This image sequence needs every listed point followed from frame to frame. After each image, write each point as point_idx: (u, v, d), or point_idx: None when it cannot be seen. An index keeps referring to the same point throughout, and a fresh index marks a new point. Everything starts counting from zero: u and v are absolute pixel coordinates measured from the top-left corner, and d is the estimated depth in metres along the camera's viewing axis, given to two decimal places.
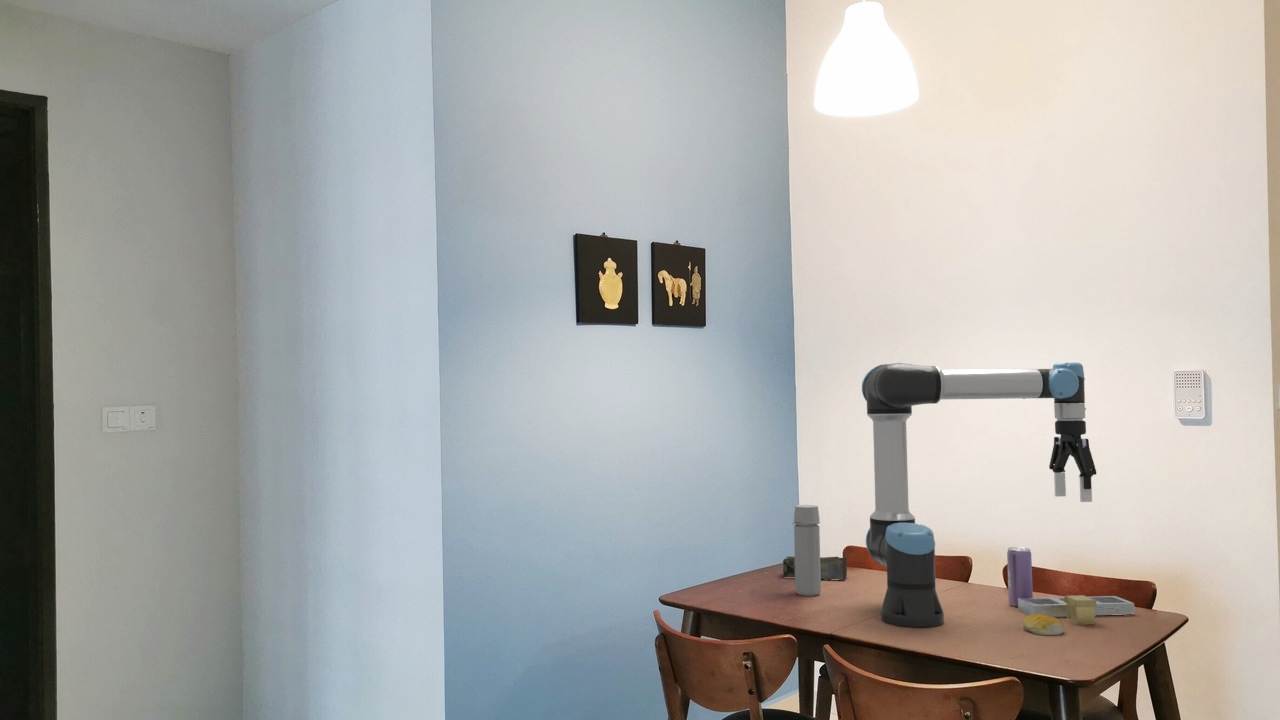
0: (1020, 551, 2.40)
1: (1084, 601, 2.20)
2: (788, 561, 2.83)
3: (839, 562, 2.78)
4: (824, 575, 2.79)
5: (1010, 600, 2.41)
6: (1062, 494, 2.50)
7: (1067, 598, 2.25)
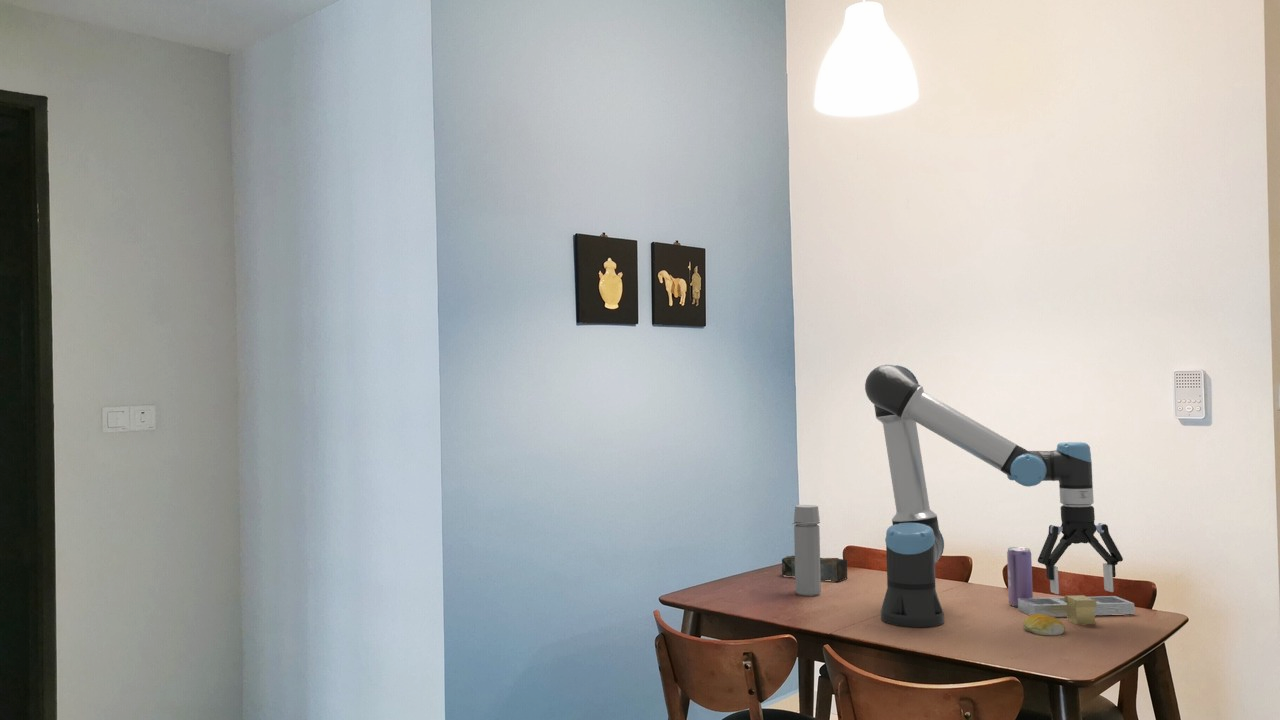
0: (1020, 551, 2.40)
1: (1084, 601, 2.20)
2: (786, 560, 2.85)
3: (833, 563, 2.76)
4: None
5: (1010, 600, 2.41)
6: (1108, 589, 2.23)
7: (1067, 598, 2.25)
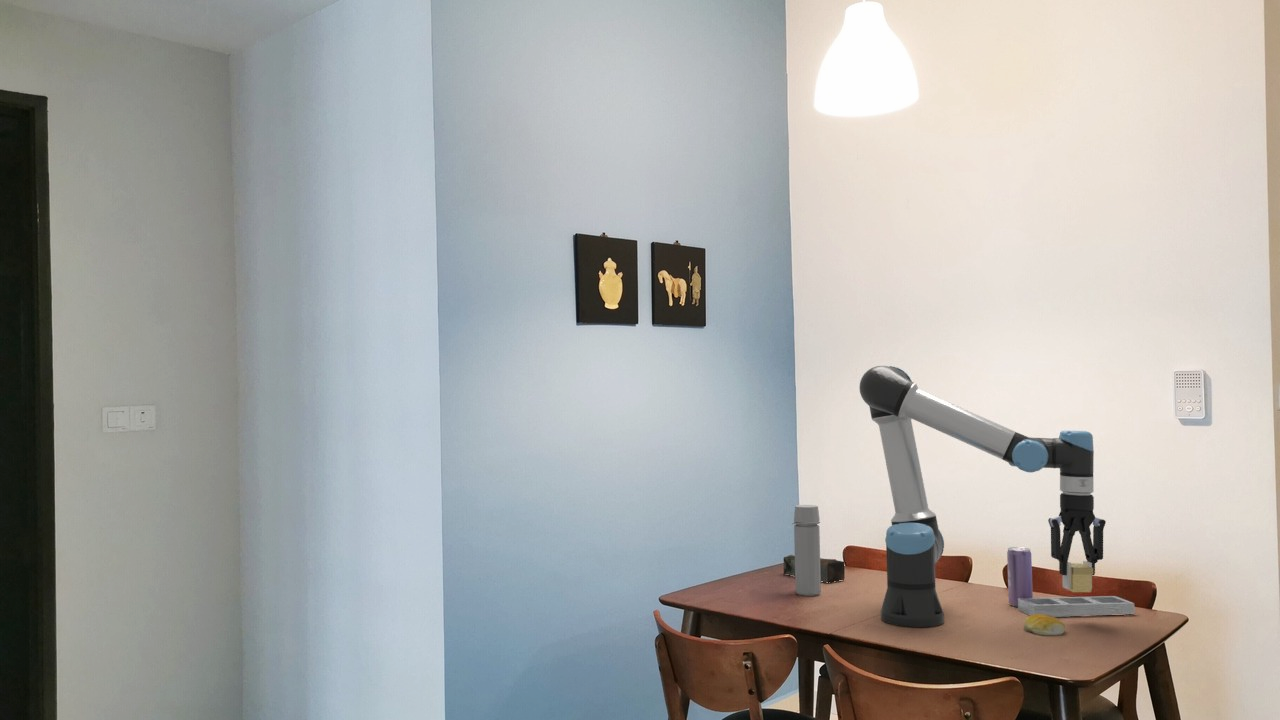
0: (1020, 551, 2.40)
1: (1081, 568, 2.21)
2: (787, 558, 2.87)
3: (824, 564, 2.75)
4: None
5: (1010, 600, 2.41)
6: None
7: None
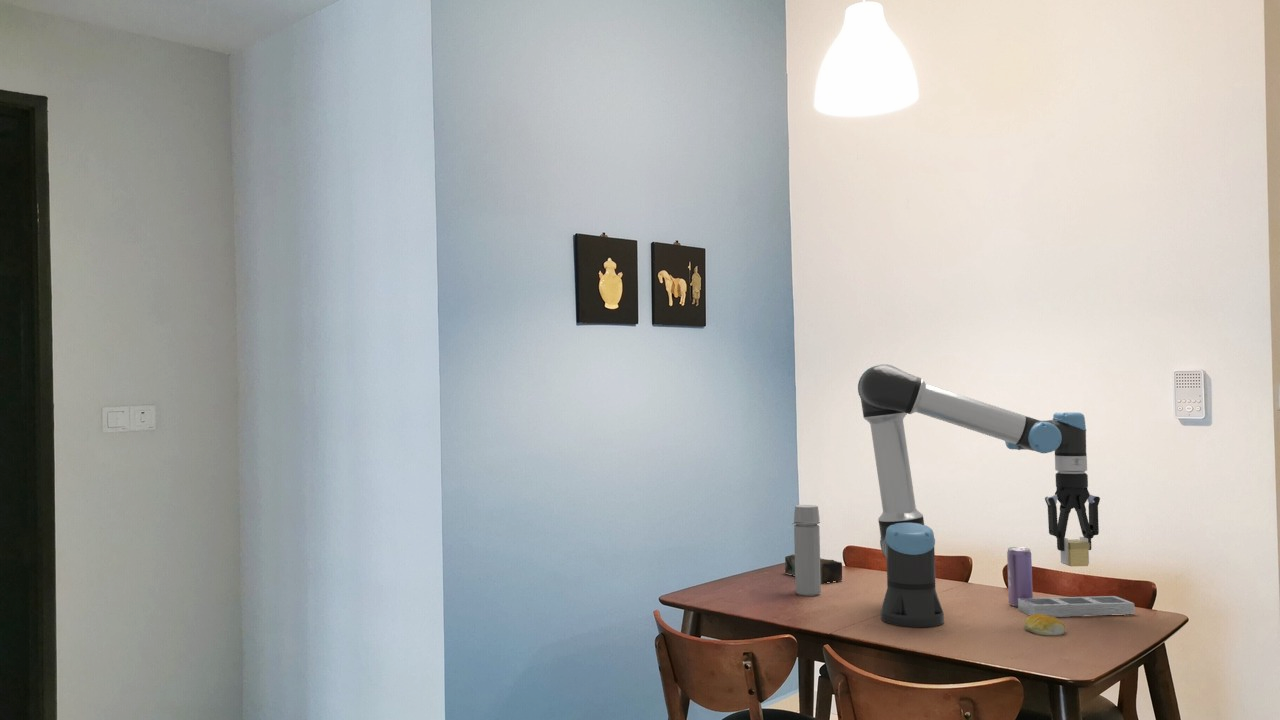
0: (1020, 551, 2.40)
1: (1078, 543, 2.30)
2: (788, 558, 2.88)
3: (820, 564, 2.74)
4: None
5: (1010, 600, 2.41)
6: None
7: None
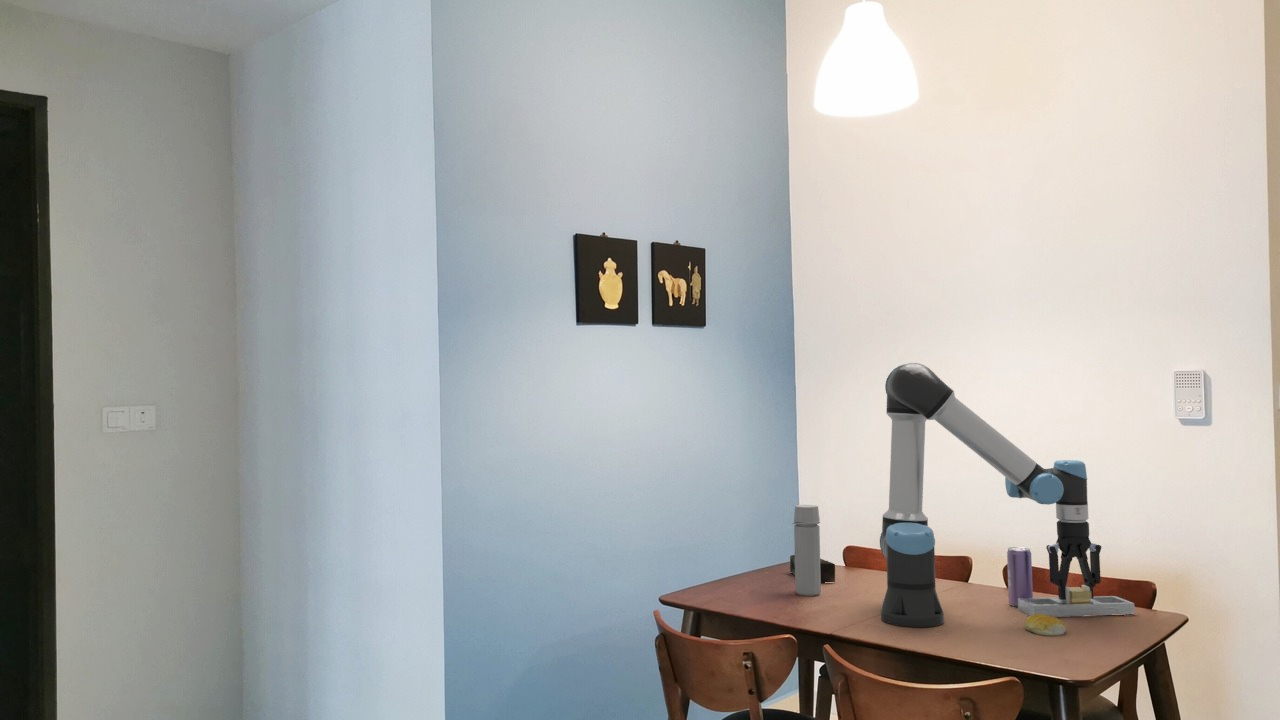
0: (1020, 551, 2.40)
1: (1079, 592, 2.30)
2: (792, 557, 2.90)
3: None
4: None
5: (1010, 600, 2.41)
6: None
7: None
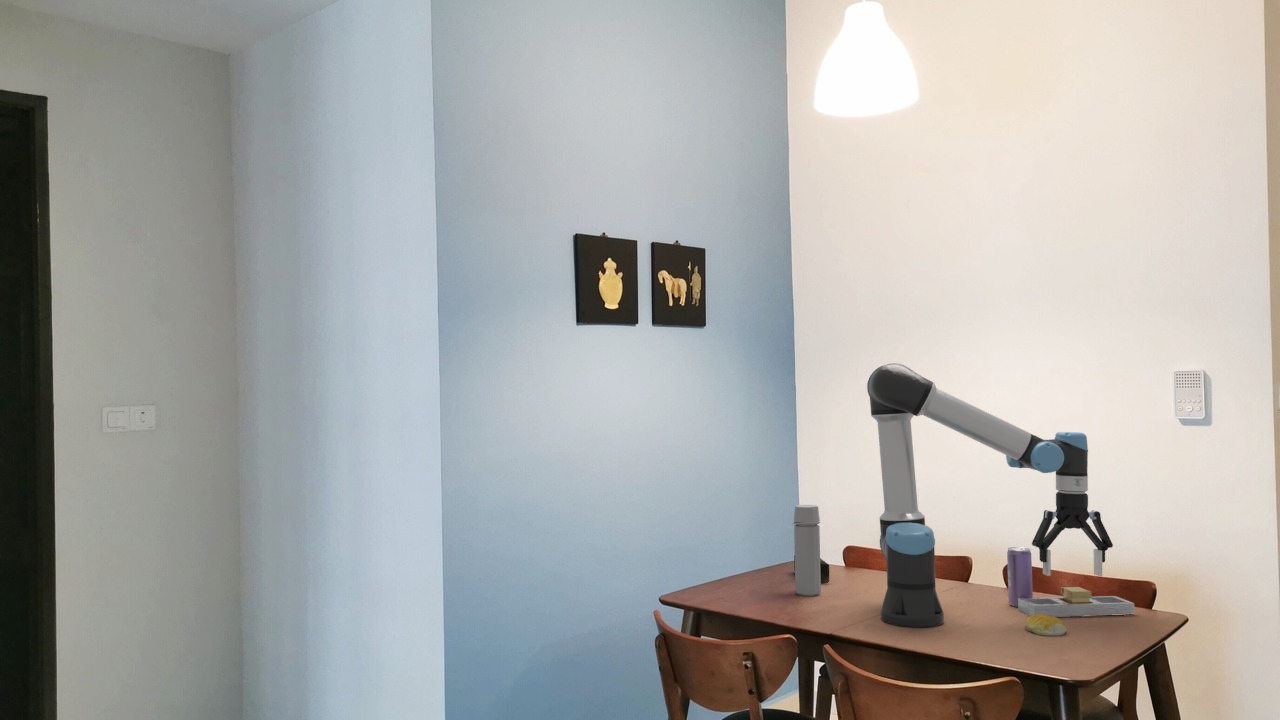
0: (1020, 551, 2.40)
1: (1079, 592, 2.30)
2: None
3: None
4: None
5: (1010, 600, 2.41)
6: (1097, 573, 2.33)
7: (1063, 589, 2.35)
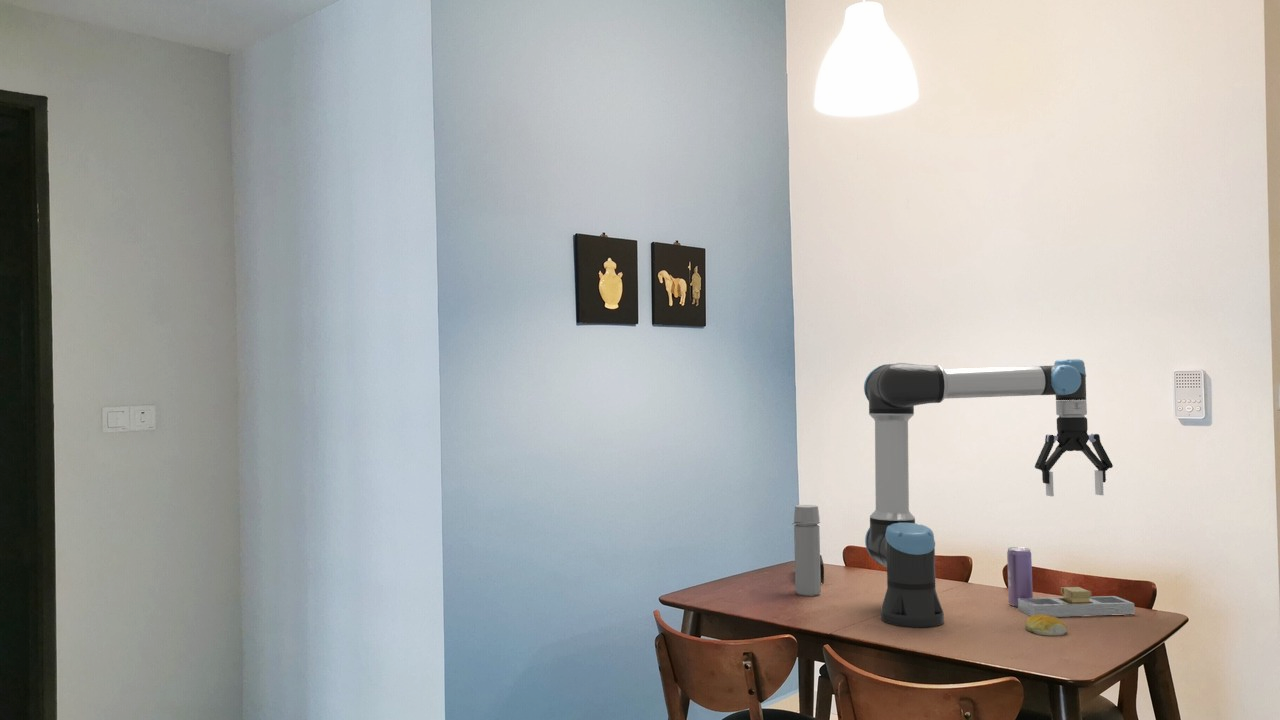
0: (1020, 551, 2.40)
1: (1079, 592, 2.30)
2: None
3: None
4: None
5: (1010, 600, 2.41)
6: (1098, 493, 2.44)
7: (1063, 589, 2.35)
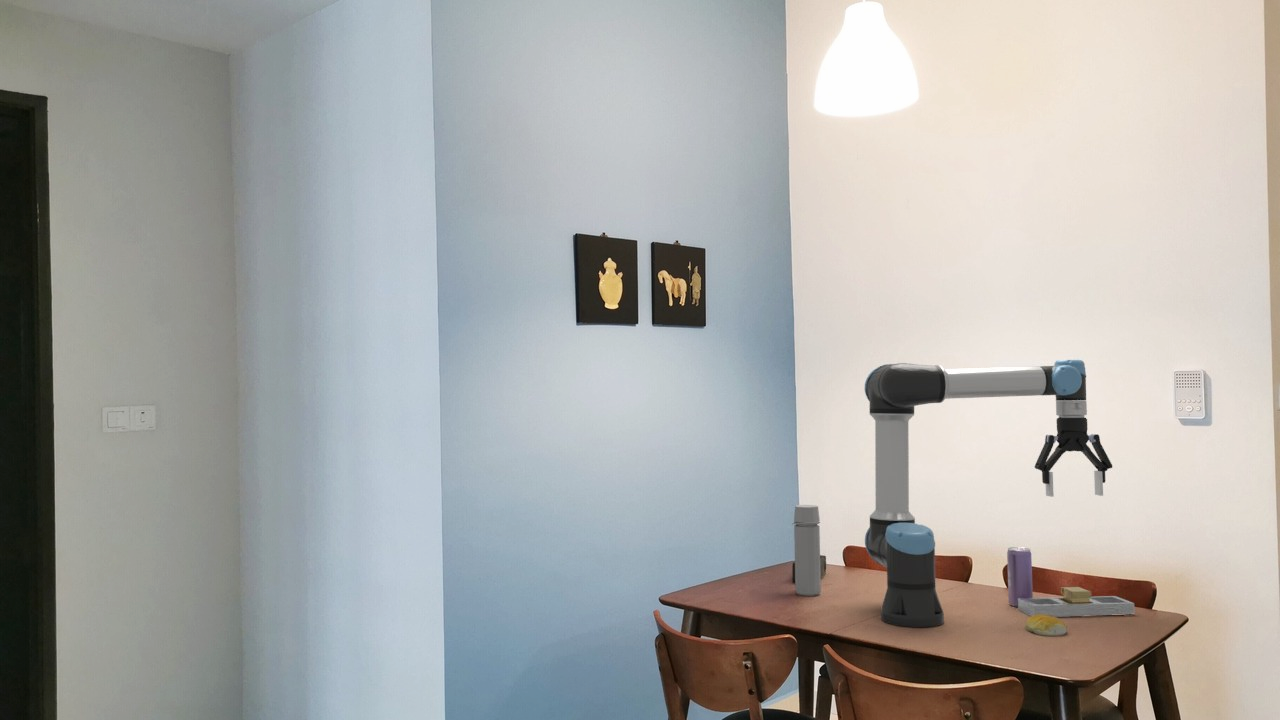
0: (1020, 551, 2.40)
1: (1079, 592, 2.30)
2: None
3: (793, 563, 2.77)
4: None
5: (1010, 600, 2.41)
6: (1098, 493, 2.44)
7: (1063, 589, 2.35)
